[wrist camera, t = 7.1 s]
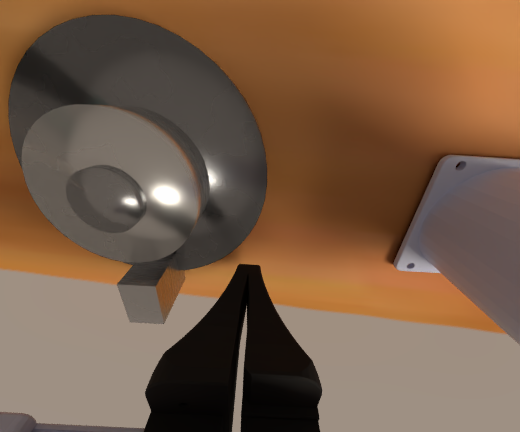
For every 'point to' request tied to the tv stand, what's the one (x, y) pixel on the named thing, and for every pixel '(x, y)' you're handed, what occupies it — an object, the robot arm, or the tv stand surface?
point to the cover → (116, 179)
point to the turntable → (168, 105)
